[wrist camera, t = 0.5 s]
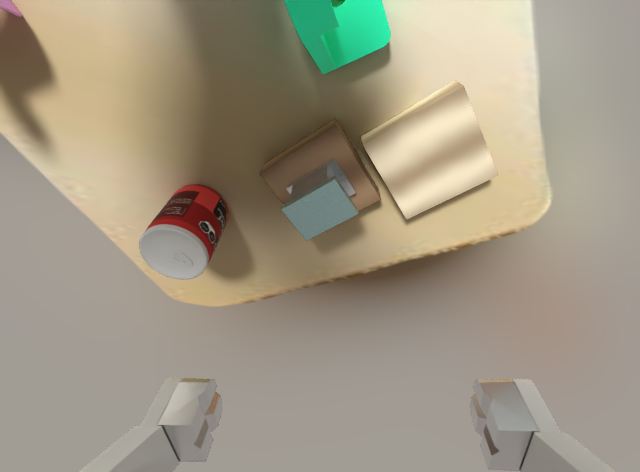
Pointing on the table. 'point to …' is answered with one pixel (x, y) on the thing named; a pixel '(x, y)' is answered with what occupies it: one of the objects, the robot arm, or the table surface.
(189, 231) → the canned food
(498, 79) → the table surface
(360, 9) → the camera mount
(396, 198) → the stand
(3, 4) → the toy chair
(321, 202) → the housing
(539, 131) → the table surface
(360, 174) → the stand
